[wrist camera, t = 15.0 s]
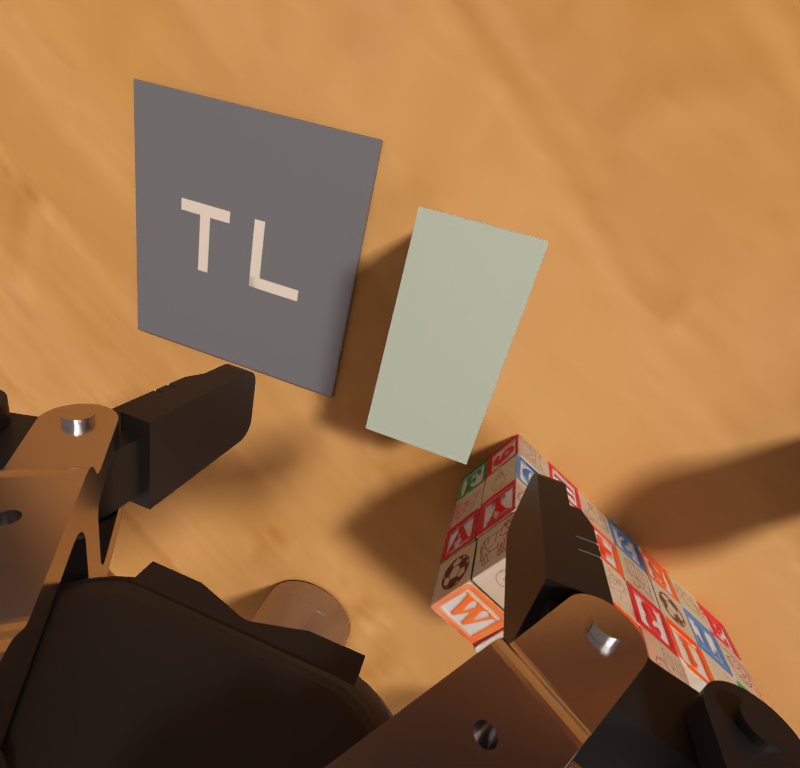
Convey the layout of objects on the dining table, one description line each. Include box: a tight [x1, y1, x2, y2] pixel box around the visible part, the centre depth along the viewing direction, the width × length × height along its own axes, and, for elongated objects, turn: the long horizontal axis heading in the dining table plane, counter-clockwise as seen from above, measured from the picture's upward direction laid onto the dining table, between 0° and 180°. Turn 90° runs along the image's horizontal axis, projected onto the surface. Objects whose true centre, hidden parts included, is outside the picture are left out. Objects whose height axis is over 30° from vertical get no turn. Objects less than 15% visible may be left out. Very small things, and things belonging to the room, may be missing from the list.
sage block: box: [366, 207, 549, 464], centre depth 24 cm, size 6×12×8 cm, turn 166°
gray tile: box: [134, 79, 383, 397], centre depth 30 cm, size 18×18×1 cm
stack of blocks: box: [430, 434, 764, 702], centre depth 26 cm, size 21×6×12 cm, turn 50°
